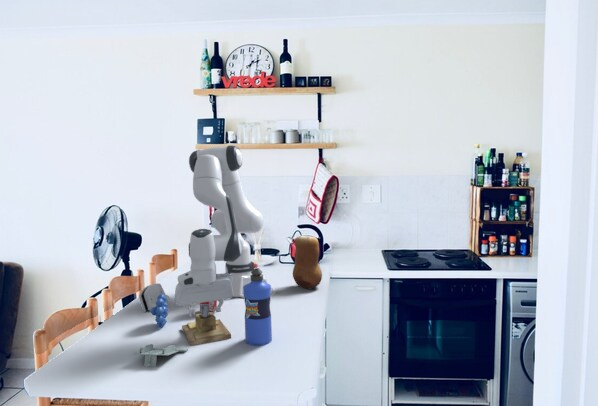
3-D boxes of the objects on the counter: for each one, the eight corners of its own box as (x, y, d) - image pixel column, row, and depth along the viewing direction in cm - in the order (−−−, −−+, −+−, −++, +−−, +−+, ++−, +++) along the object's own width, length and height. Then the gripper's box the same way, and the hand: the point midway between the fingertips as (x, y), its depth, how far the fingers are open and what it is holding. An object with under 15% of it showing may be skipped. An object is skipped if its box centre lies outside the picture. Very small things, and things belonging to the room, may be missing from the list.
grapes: (153, 321, 178) (151, 290, 177) (171, 320, 179) (169, 289, 178) (147, 332, 167) (145, 300, 166) (166, 331, 168) (164, 299, 166)
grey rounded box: (155, 312, 189) (145, 289, 188) (144, 315, 189) (135, 293, 189) (170, 299, 205) (162, 278, 204) (161, 302, 206) (152, 281, 205)
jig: (219, 323, 175) (219, 306, 174) (231, 338, 161) (230, 320, 160) (182, 329, 170) (181, 312, 169) (190, 345, 155) (189, 326, 154)
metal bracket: (173, 349, 139) (126, 347, 141) (172, 369, 138) (124, 367, 140) (189, 343, 153) (146, 342, 155) (188, 361, 152) (145, 360, 154)
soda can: (220, 310, 190) (219, 281, 188) (211, 315, 183) (210, 286, 182) (205, 308, 192) (204, 280, 191) (196, 314, 185) (195, 285, 184)
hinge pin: (208, 327, 167) (207, 303, 166) (210, 330, 164) (209, 305, 163) (201, 328, 166) (200, 304, 165) (203, 331, 163) (202, 306, 162)
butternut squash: (322, 283, 225) (322, 233, 222) (321, 292, 212) (320, 238, 209) (294, 283, 226) (293, 233, 224) (291, 291, 213) (290, 238, 210)
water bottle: (261, 348, 152) (259, 273, 149) (239, 342, 157) (237, 270, 154) (277, 338, 160) (275, 267, 157) (256, 333, 165) (254, 264, 162)
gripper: (229, 270, 170) (231, 306, 171) (173, 277, 162) (174, 315, 163) (234, 274, 164) (236, 311, 166) (175, 281, 156) (177, 321, 157)
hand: (205, 313), depth 164 cm, fingers open, 8 cm apart
